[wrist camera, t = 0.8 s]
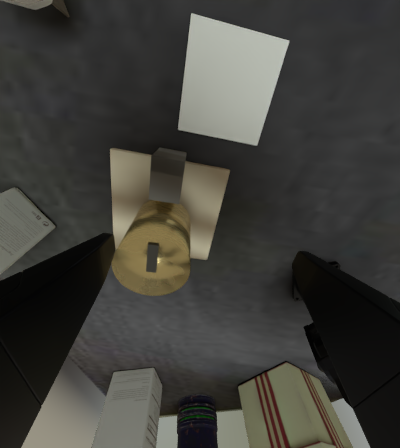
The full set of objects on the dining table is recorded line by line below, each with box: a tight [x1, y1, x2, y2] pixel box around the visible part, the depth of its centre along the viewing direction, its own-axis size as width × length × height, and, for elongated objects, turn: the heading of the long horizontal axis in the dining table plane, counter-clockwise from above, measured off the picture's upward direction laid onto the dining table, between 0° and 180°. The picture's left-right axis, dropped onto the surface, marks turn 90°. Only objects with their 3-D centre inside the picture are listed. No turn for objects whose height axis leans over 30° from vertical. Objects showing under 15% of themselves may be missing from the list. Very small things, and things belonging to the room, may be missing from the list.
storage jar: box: [177, 394, 218, 448], centre depth 43 cm, size 10×10×15 cm
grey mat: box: [178, 13, 289, 146], centre depth 17 cm, size 8×8×1 cm
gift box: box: [238, 362, 353, 448], centre depth 39 cm, size 17×18×17 cm
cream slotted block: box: [110, 147, 230, 260], centre depth 20 cm, size 14×12×5 cm
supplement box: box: [91, 368, 162, 448], centre depth 36 cm, size 9×9×15 cm
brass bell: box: [112, 200, 191, 296], centre depth 17 cm, size 10×6×7 cm, turn 169°
